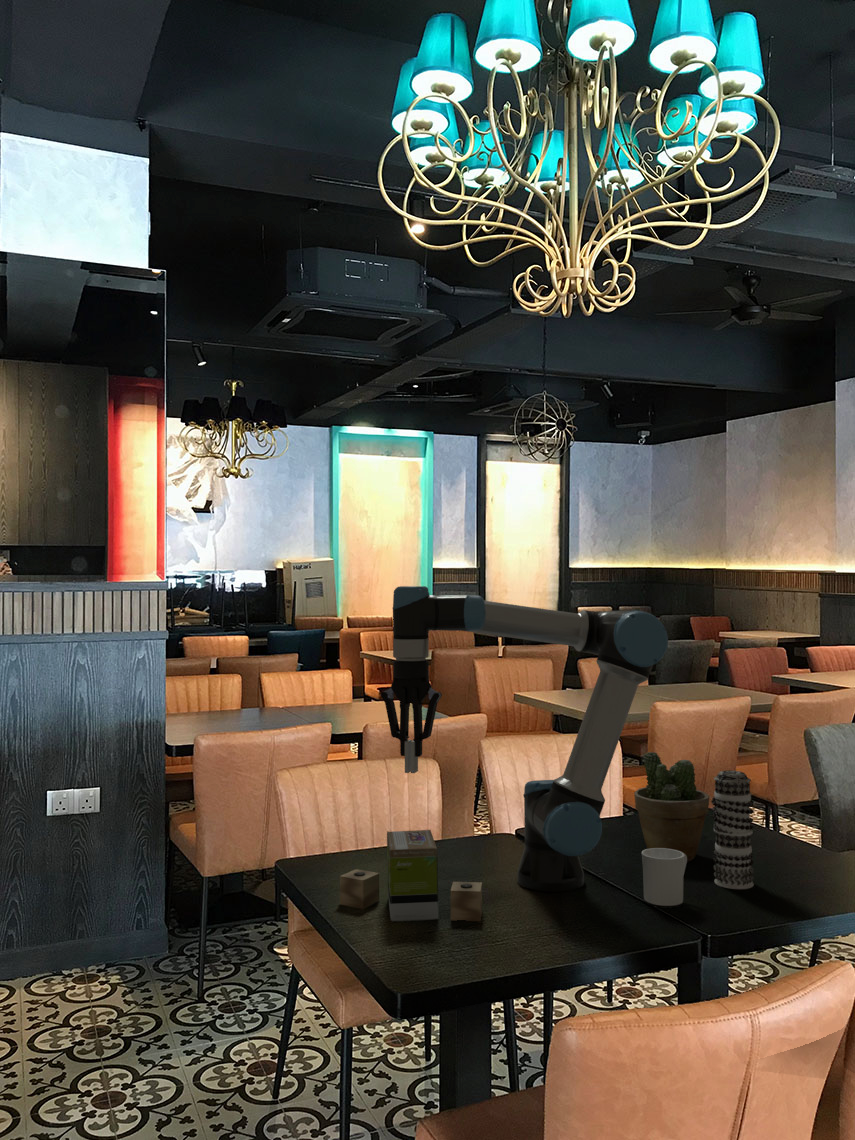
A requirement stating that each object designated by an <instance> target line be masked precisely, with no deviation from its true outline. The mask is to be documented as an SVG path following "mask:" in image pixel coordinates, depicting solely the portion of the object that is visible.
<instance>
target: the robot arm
mask: <svg viewBox="0 0 855 1140" xmlns="http://www.w3.org/2000/svg"><path fill="white" fill-rule="evenodd" d="M392 601H393V603H392V634H393V636H392V657H393V658H395V660H394V661H393V662H392V664H393V666H392V670H393V671H392V675H393V676H392V677H393V680H392V683H391V686H390V688H387V690H385V691H381V692H380V697H381V698H382V700H383V702H384V705H385V709H386V714H387V719H388V725H389V729H390V735H391V737H392V738H393V739H394V738H395V739H397V740H399V742H400V743H399V749H400V750H399V751H400V756H401V757H404V774H415V773H417V772H419V757H422V755H423V741H424V740H426V739H428V738H430V737H431V736H432V732H433V727H434V721H435V718H436V711H437V706H438V703H439V701H440V700H441V698H442V696H443V694H442V693H441V691H436V690H435V689H433V688H432V685H431V683H430V679H429V678H430V666H429V664H430V662H429V661H428V659H427V658H429V655H430V654H429V653H430V652H429V651H430V650H429V647H430V646H429V644H430V643H429V637H430V636H429V632H430V631H433V632H437V631H452V632H453V631H460V632H470V633H477V634H484V635H490V636H497V637H505V638H511V639H512V638H513V639H520V640H527V641H532V642H540V643H542V642H543V643H547V644H556V645H561V646H570V647H573V648H574V649H575V650H576V651H577V652H582V653H586V654H587V653H588V654H592V655H596V656H597V658H596V661H595V662H596V664H597V666H598V668H599V674H598V677H597V679H596V683H595V685H594V688H593V690H592V694H591V696H590V699H589V702H588V704H587V707H586V709H585V713H584V716H583V719H582V721H581V724H580V727H579V730H578V732H577V736H576V738H575V741H574V744H573V746H572V749H571V753H570V754H569V757H568V761H567V763H566V766H565V768H564V772H563V774H562V775H561V776H559V777H556V778H554V779H541V780H530V781H527V782H526V783H525V785H524V789H523V790H524V792H523V795H522V796H523V801H524V804H523V806H524V808H523V809H524V810H523V811H524V813H523V815H524V820H523V821H524V849H523V852H522V855H521V858H520V862H519V865H518V868H517V870H516V871H517V872H516V873H517V874H516V876H517V878H516V880H517V883H518V884H519V885H520V886H522V887H524V888H527V889H530V890H534V891H539V892H547V893H548V892H552V893H553V892H554V893H556V892H568V891H575V890H577V889H580V888H582V887H583V886H584V885H585V872H584V870H583V866H582V863H581V860H580V856H582V855H584V854H586V853H589V852H590V851H592V850H593V849H595V847H596V846H597V845H598V843H599V841H600V839H601V837H602V833H603V822H602V818H601V813H602V811H603V809H604V804H605V801H606V797H604V794H603V791H602V788H603V786H604V783H605V780H606V777H607V775H608V772H609V769H610V766H611V763H612V760H613V758H614V756H615V752H616V749H617V747H618V743H619V740H620V739H621V738H620V737H621V735H622V732H623V729H624V728H625V727H624V726H625V724H626V720H627V718H628V715H629V713H630V712H629V711H630V709H631V707H632V703H633V701H634V699H635V697H636V696H635V694H636V692H637V690H638V687H639V685H640V684H642V683H644V682H647V681H648V680H649V677H650V674H651V672H652V669H653V666H654V665H656V664H657V663H659V661H661V659H663V657H664V656H665V654H666V652H667V650H668V645H669V638H668V637H669V636H668V633H667V630H666V627H665V626H664V623H663V622H662V621H661V620H660V619H659V618H658V617H656V615H653V614H652V613H650V612H646V611H644V610H643V611H642V610H639V609H634V610H633V609H631V610H624V609H623V610H621V609H620V610H606V611H602V610H601V611H598V610H597V611H595V610H594V611H592V610H585V609H582V610H580V611H579V612H578V613H574V612H568V611H561V610H556V609H555V610H554V609H547V608H541V607H540V608H539V607H534V606H533V607H531V606H526V605H519V604H518V605H517V604H511V603H505V602H504V603H503V602H497V601H489V600H484V598H483V597H482V595H476V594H475V595H472V594H457V595H454V594H453V595H447V594H443V595H435V594H434V595H433V594H430V592H429V587H427V586H425V585H423V586H422V585H420V586H419V585H418V586H417V585H411V586H410V585H402V586H397V587H395V588H394V590H393V598H392ZM427 695H428V700H429V702H428V704H427V705H428V706H427V711H426V717H425V722H424V726H423V701H424V699H425V698H426V697H427ZM395 696H396V699H397V700H399V708H400V709H399V711H400V712H399V713H400V714H399V718H398V715H397V710H396V703H395V700H394V698H395ZM411 706H412V712H413V713H412V716H413V739H410V736H409V735H410V734H409V730H410V727H409V726H410V707H411ZM398 719H399V720H398Z"/></svg>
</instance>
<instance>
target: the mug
mask: <svg viewBox="0 0 855 1140" xmlns="http://www.w3.org/2000/svg"><path fill="white" fill-rule="evenodd" d="M641 860H642V877H643V883H642V884H643V901H644V903H645V902H646V903H647V904H646V903H645V904H646V905H648V906H650V905H651V906H650V907H653V906H657V907H667V908H666V909H669V908H668V907H677V906H680V907H682V906H681V905H683V904H684V875H685V872H686V868H687V863H688V861H687V857H686V855H685V854H684V853H682V852H680V851H677V850H673V849H666V848H651V849H648V848H646V849H643V850H642V851H641ZM657 907H656V908H657ZM677 908H678V907H677Z"/></svg>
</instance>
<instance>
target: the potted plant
mask: <svg viewBox="0 0 855 1140" xmlns="http://www.w3.org/2000/svg"><path fill="white" fill-rule="evenodd" d="M642 758H643V759H642V762H643V766H644V768H645V773H646V778H645V779H646V780H647V782H646V784H647V785H646V786H645V787H642V788H641V787H640V788H638V789H637V790H635V792H634V803H635V809H636V810H637V813H638V816H639V821H640V826H641V830H642V834H643V838H644V842H645V845H646V849H651V848H666V849H673V850H677V851H680V852H682V853H684V854H685V855H686V857H687V862H690V861H692V860H694V859H695V857H696V855H697V852H698V849H699V845H700V841H701V839H702V838H701V837H702V833H703V829H704V825H705V821H706V815H707V814H708V812H709V807H710V795H709V794H708V793H707V792H705V791H702V790H698V789H697V786H696V784H695V782H696V777H695V776H696V773H695V766H694V764H693V762H691V760H689V759H681V760H678V761H677V762H675V763H674V764H673V765H671V766H670V767H669V769H667V765H666V764H663V762H662V761H661V757H660V756H659V755H658V753H657V752H654V751H652V752H651V751H649V752H645V754H643V757H642Z"/></svg>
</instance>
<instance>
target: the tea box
mask: <svg viewBox="0 0 855 1140" xmlns="http://www.w3.org/2000/svg"><path fill="white" fill-rule="evenodd" d="M436 844H437V843H436V842H435V839H434V837H433V833H432V829H420V830H419V829H418V830H417V829H416V830H399V831H393V830H392V831H387V833H386V849H387V850H386V853H387V854H386V861H387V862H386V863H387V897H388V909H389V917H390V921H391V922H411V921H431V920H434V921H435V920H438V919H439V875H438V872H439V871H438V870H439V869H438V868H439V867H438V848H437V847H438V846H437V845H436Z"/></svg>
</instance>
